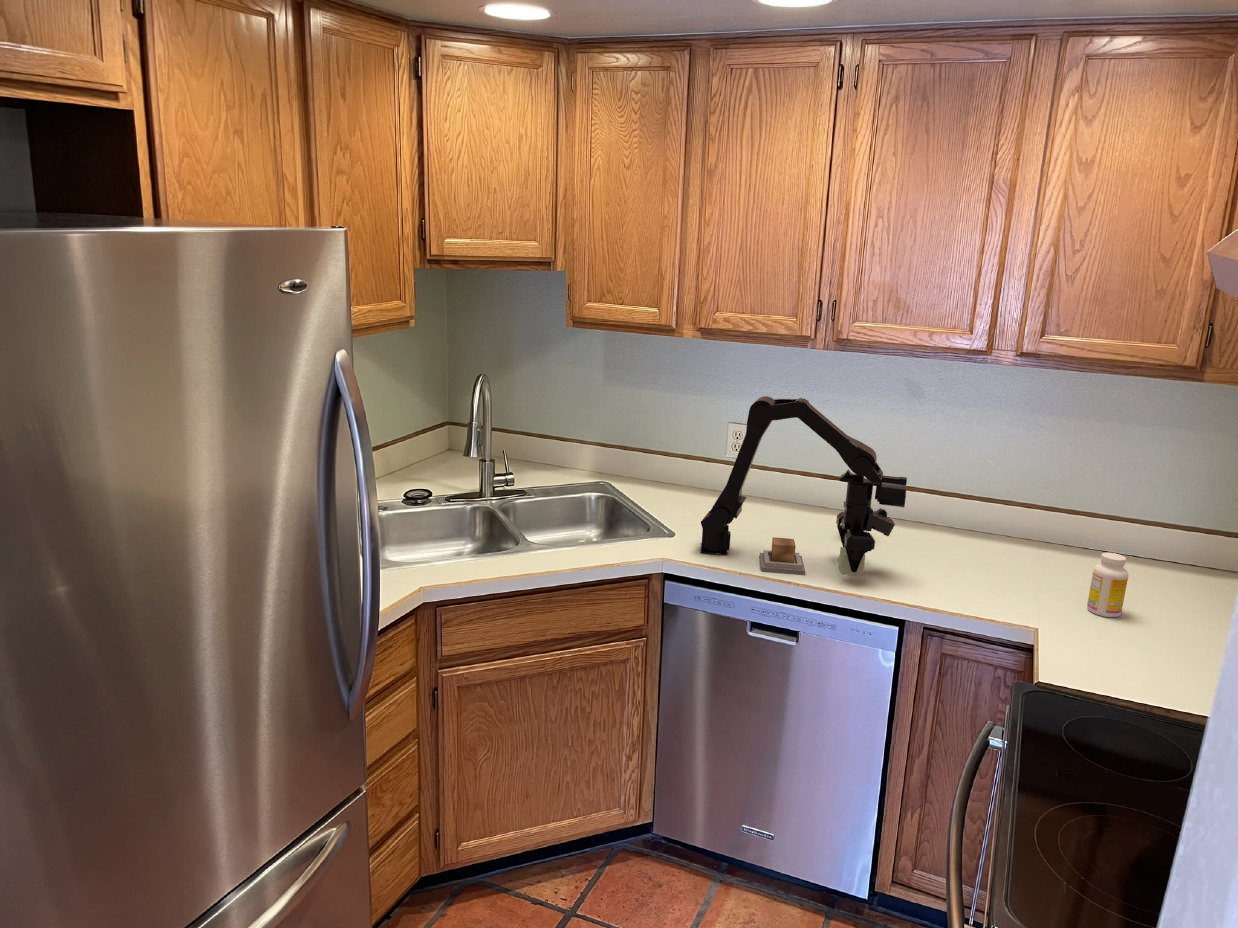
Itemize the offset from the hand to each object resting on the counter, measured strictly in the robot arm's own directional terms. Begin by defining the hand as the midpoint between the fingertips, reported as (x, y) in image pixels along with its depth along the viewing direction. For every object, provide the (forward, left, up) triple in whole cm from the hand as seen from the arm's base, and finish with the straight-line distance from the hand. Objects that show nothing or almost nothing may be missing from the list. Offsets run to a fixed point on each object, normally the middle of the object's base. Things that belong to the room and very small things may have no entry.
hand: (850, 564), depth 214 cm
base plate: (-16, 0, -2) cm, 16 cm away
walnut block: (-16, 0, 0) cm, 16 cm away
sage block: (0, 0, -2) cm, 2 cm away
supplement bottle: (+52, -13, -2) cm, 54 cm away
